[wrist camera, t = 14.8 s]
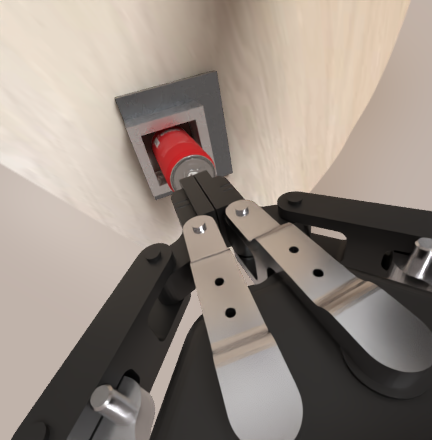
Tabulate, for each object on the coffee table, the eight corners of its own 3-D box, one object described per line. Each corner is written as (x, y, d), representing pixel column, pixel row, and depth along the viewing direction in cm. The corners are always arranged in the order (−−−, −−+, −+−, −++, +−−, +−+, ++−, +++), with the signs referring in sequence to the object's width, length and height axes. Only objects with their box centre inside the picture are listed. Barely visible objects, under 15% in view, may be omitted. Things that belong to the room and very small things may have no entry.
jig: (213, 70, 31) (227, 73, 28) (230, 170, 40) (242, 182, 36) (114, 97, 29) (116, 104, 25) (154, 196, 38) (159, 212, 34)
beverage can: (189, 123, 34) (221, 152, 24) (186, 161, 36) (215, 199, 27) (150, 121, 32) (168, 152, 22) (150, 160, 34) (167, 202, 25)
